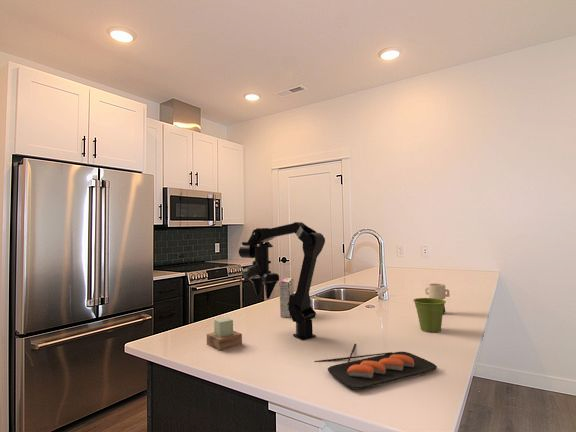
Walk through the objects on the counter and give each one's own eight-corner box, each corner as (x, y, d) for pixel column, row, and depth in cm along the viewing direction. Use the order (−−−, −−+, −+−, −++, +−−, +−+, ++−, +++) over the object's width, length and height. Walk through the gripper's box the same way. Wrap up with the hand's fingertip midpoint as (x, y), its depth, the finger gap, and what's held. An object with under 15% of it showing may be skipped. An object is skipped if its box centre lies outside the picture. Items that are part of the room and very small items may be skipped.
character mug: (453, 313, 154) (451, 284, 154) (447, 316, 149) (446, 286, 149) (429, 309, 161) (427, 282, 162) (423, 312, 156) (421, 284, 157)
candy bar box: (284, 311, 165) (284, 278, 166) (294, 311, 164) (293, 278, 165) (279, 317, 154) (278, 281, 155) (290, 317, 153) (289, 281, 154)
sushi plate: (353, 397, 81) (353, 381, 81) (299, 355, 108) (299, 343, 108) (442, 373, 92) (441, 359, 92) (373, 341, 120) (373, 330, 120)
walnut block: (242, 345, 119) (241, 333, 119) (219, 351, 113) (219, 339, 113) (228, 339, 126) (228, 328, 126) (206, 345, 120) (206, 334, 120)
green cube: (233, 334, 119) (232, 319, 119) (220, 337, 116) (219, 322, 117) (227, 330, 123) (227, 317, 124) (214, 333, 120) (214, 319, 121)
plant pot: (451, 329, 130) (450, 299, 131) (441, 336, 122) (439, 305, 122) (421, 323, 138) (420, 296, 139) (409, 330, 130) (407, 301, 130)
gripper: (234, 258, 142) (235, 295, 141) (253, 261, 126) (254, 303, 125) (258, 256, 148) (259, 292, 147) (279, 259, 132) (280, 299, 131)
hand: (262, 296), depth 138 cm, fingers open, 9 cm apart
